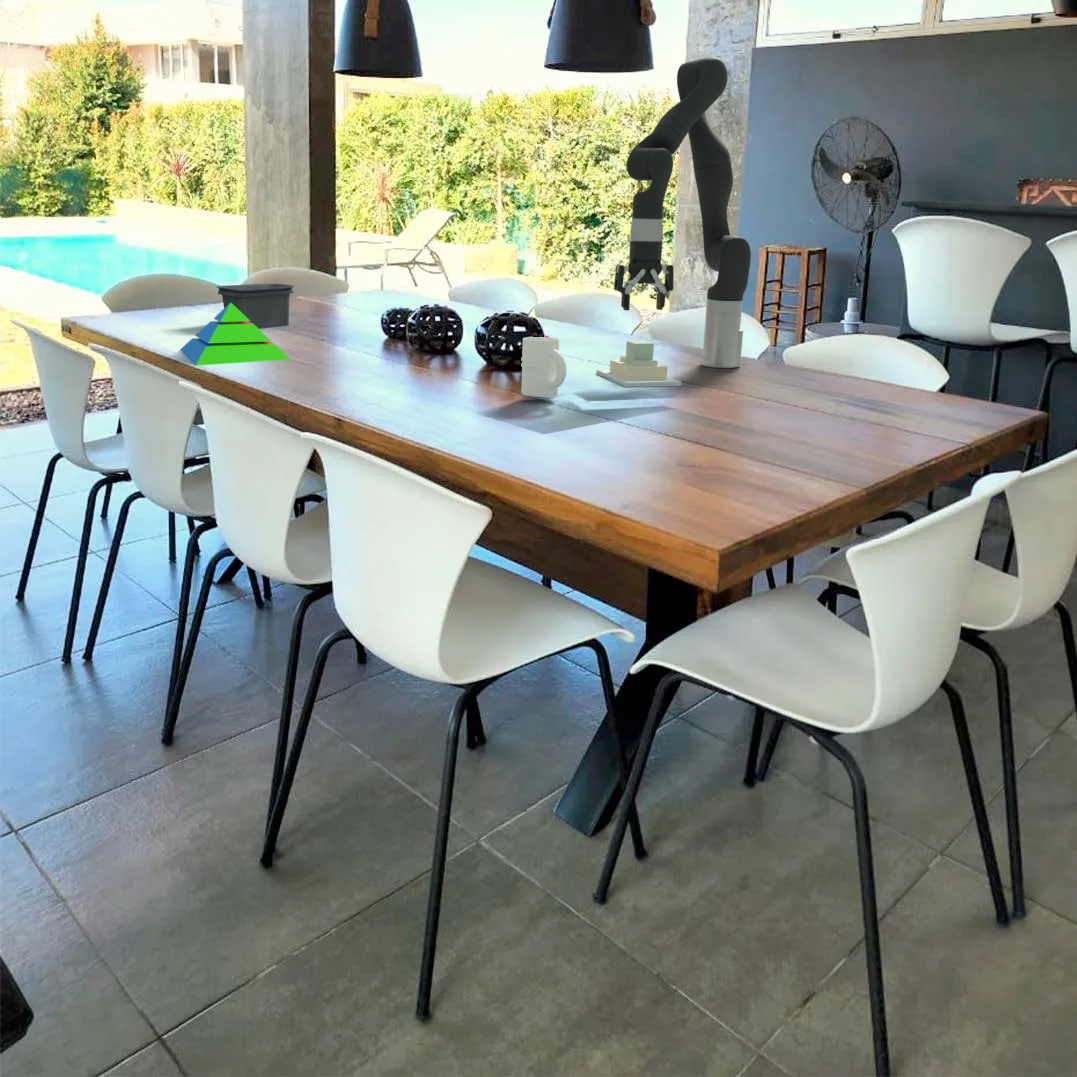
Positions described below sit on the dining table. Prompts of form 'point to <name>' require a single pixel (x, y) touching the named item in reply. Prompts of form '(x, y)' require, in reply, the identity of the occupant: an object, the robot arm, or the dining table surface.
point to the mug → (542, 367)
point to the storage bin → (260, 302)
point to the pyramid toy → (231, 341)
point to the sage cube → (639, 351)
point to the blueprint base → (638, 382)
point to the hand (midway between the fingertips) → (642, 309)
